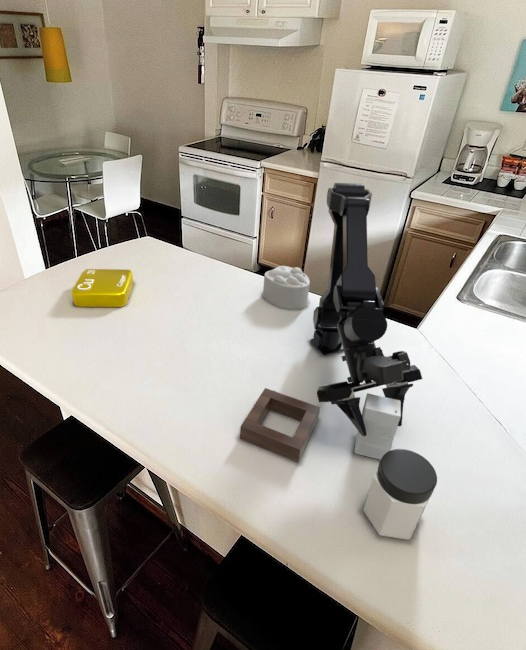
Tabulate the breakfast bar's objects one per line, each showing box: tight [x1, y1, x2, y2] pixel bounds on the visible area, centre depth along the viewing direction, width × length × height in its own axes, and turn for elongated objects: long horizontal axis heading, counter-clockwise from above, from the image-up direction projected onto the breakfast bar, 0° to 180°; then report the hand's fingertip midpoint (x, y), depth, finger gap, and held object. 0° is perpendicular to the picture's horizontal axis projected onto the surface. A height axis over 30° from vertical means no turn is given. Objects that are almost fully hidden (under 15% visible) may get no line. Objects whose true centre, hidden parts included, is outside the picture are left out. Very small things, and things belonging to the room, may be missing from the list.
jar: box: [362, 448, 438, 541], centre depth 70 cm, size 9×8×12 cm
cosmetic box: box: [353, 393, 401, 461], centre depth 81 cm, size 6×4×12 cm
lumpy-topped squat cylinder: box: [262, 265, 311, 311], centre depth 126 cm, size 10×13×9 cm
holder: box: [239, 387, 321, 463], centre depth 87 cm, size 12×12×4 cm
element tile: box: [71, 268, 134, 308], centre depth 129 cm, size 15×15×5 cm
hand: (381, 430), depth 79 cm, fingers closed on cosmetic box, 7 cm apart
